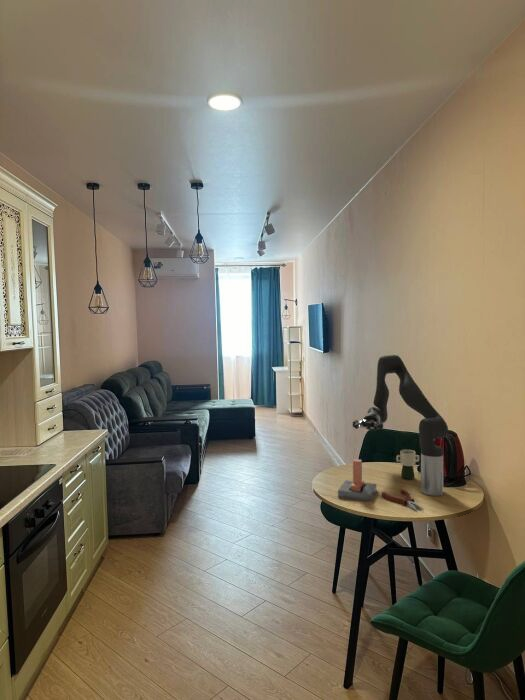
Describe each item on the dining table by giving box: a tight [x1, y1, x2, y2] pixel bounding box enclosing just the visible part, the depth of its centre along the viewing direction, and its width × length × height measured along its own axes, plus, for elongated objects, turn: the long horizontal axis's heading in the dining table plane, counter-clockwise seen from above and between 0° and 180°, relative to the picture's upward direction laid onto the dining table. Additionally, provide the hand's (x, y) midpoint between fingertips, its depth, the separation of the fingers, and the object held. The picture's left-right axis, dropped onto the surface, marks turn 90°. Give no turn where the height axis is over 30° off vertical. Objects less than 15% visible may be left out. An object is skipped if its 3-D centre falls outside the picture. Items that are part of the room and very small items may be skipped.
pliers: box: [381, 489, 424, 512], centre depth 192 cm, size 12×20×3 cm, turn 17°
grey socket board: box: [337, 479, 377, 502], centre depth 203 cm, size 14×14×3 cm
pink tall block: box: [351, 458, 365, 492], centre depth 203 cm, size 4×9×15 cm, turn 156°
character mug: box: [395, 449, 420, 480], centre depth 223 cm, size 11×7×13 cm, turn 87°
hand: (365, 427), depth 218 cm, fingers open, 8 cm apart
